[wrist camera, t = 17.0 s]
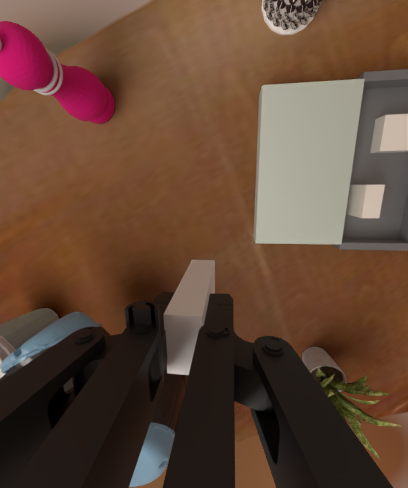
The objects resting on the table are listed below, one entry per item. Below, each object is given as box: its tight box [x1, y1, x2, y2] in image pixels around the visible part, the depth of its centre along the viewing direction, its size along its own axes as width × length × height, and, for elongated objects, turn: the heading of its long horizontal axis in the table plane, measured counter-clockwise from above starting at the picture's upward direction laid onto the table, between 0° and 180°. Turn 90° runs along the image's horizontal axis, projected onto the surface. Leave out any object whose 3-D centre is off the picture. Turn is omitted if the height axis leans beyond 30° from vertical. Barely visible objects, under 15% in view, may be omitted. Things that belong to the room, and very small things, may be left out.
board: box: [254, 79, 365, 244], centre depth 38 cm, size 24×14×4 cm, turn 1°
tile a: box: [346, 184, 385, 218], centre depth 37 cm, size 5×5×2 cm
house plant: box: [302, 347, 401, 458], centre depth 41 cm, size 14×14×16 cm
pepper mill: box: [0, 21, 115, 124], centre depth 31 cm, size 7×7×20 cm
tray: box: [331, 69, 408, 251], centre depth 37 cm, size 26×12×4 cm, turn 1°
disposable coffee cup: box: [0, 308, 59, 378], centre depth 47 cm, size 11×11×15 cm
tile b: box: [370, 114, 408, 153], centre depth 35 cm, size 5×5×2 cm
